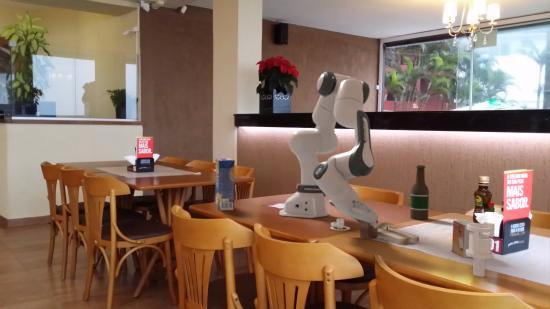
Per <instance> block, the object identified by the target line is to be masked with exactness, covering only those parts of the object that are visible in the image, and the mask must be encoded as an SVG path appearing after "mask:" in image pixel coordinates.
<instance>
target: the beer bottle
mask: <svg viewBox="0 0 550 309" xmlns="http://www.w3.org/2000/svg"><path fill="white" fill-rule="evenodd" d="M425 168H426V165H423V164H422V165H421V164H419V165H416V175H415V183H414V184H413V185H412V188H411V190H410V210H409V211H410V219H412V220H417V221H426V220H428V219H429V205H430V203H429V201H430V190H429V188H428V185H427V184H426V178H425V177H426V176H425Z"/></svg>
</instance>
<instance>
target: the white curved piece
mask: <svg viewBox="0 0 550 309" xmlns="http://www.w3.org/2000/svg"><path fill="white" fill-rule="evenodd" d="M330 225H331V226H330V227H329V228H330V229H331V230H336V231H339V230H343V231H349V230H351V227H349V226H346V225H345V218H341V217H340V218H336V221H333V222H331V223H330ZM336 228H337V229H336ZM344 228H346V229H344Z"/></svg>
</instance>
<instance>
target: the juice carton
mask: <svg viewBox="0 0 550 309" xmlns="http://www.w3.org/2000/svg"><path fill="white" fill-rule="evenodd" d="M235 161H236V160H234V159H233V158H215V190H214V191H215V194H214V196H215V199H214V200H215V204H214V205H215V208H216V209H217V210H218V211H233V210H235V174H236V173H235V172H236V171H235V168H236V167H235V166H236V165H235V163H236V162H235Z"/></svg>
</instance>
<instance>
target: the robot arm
mask: <svg viewBox="0 0 550 309" xmlns="http://www.w3.org/2000/svg"><path fill="white" fill-rule="evenodd" d="M370 90H371V89H370V85H369V84H368V83H367V82H365V81H363V80H359V79H358V78H355V77H352V76H349V75H344V74H340V73H335V72H333V71H324V72H322V73H321V75H320V76H319V77H318V79H317V83H316V91H317V94H319V98H318V100H317V103H316V105H315V108H314V109H313V112H312V115H311V118H312V122H313V123H314V124H315V127H314V128H315V129H313V130H310V129H309V130H308V129H306V130H305V129H304V130H303V129H302V130H298V131H294V132H293V133H291V134H290V136H289V138H288V146H289V149H290V151H291V152H292V153H293V154H294V155H295V156H296V157H297V160H298V162H299V166H300V183H297V184H296V185H295V186H296V192H295V193H293V194H292V195H291V196H289V197H288V198H287V199H286V200H285V201H284V205H283V208H282V209H281V210H279V215H280V216H283V217H292V218H293V217H295V218H308V219H315V218H320V217H322V218H323V217H327V216H328V215H329V213H328V208H327V203H326V197H327V196H328V197H329V200H328V204H329V205H331V206H333V207H334V209H336V210H337V211H338V212H339V213H340V214H342V215H343V216H346V217H350V218H351V219H353V220H354V221H355V222H356V223H357V224H360V221H361V220H362V221H365V222H369V223H371V226H372V227H373V228H377V226H378V224H377V223H376V221H377V219H378V220H379V217H380V216H379V215H380V214H378V213H377V212H376V211H375V210H374V208H372V207H371V205H370V204H368V203H366V202H364V201H360V200H359V198H360V195H359V193H357V191H356V190H355V189H354V188H353V186H352V185H351V184H349V182H348V181H349V179H354V178H359V177H368V176H369V175H370V174H371V173H372V171H373V169H374V166H375V159H374V154H373V150H372V138H371V136H372V135H371V127H370V120H369V117H368V115H367V113H366V112H365V111H364V109H363V108H364V107H363V106H364V105H365V104H366V103H367V101H368V98H369V96H370V93H371V91H370ZM337 123H338V124H339V125H340V126H342V127H345V128H348V129H354V141H355V142H354V144H355V145H354V147H353V148H352V149H351V150H348V151H344V152H341V153H337V154H334V155H332V156H329V157H328V159H327V160H325V161H322V162H320V161H319V160H318V155H325V154H330V153H333V152H335V151H336V150H337V148H338V146H339V139H338V135H337V134H336V133H335V129H336V128H335V127H336V124H337Z"/></svg>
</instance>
